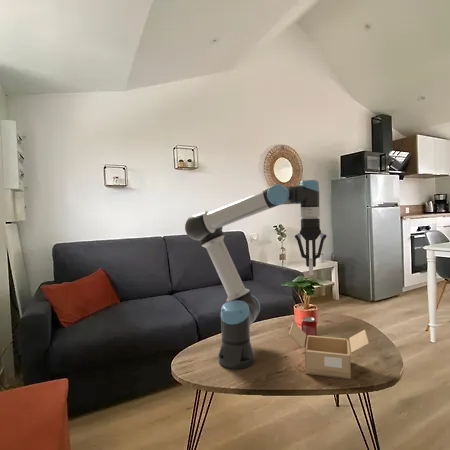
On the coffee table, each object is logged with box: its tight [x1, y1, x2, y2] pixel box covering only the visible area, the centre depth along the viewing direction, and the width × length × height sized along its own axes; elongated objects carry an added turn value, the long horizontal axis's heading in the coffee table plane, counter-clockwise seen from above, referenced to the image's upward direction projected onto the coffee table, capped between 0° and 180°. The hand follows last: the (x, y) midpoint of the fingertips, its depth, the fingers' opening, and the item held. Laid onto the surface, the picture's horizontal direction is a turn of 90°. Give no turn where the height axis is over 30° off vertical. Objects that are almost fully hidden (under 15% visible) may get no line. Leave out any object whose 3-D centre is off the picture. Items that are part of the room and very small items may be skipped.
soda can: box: [300, 316, 318, 347], centre depth 144 cm, size 7×7×12 cm
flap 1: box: [288, 322, 306, 349], centre depth 126 cm, size 7×13×1 cm
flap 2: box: [348, 329, 370, 354], centre depth 119 cm, size 7×13×1 cm
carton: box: [304, 335, 352, 380], centre depth 123 cm, size 16×15×9 cm
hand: (311, 274), depth 132 cm, fingers closed
